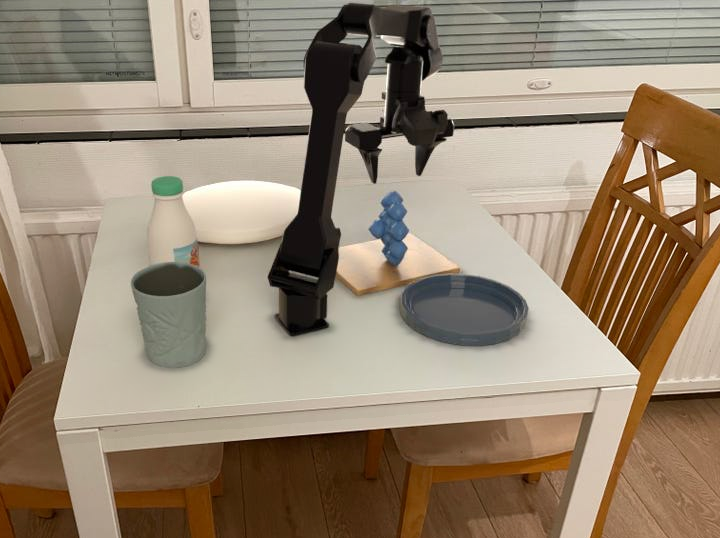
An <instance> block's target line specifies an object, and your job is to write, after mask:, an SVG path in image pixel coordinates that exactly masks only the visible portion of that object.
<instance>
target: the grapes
mask: <svg viewBox="0 0 720 538" xmlns="http://www.w3.org/2000/svg"><path fill="white" fill-rule="evenodd" d="M403 202H404V199H403V197H402V196H401V194H400V193H399V192H397V191H396V190H391V191H390V192H387V193H386V194H385V195H384V196H383V198H382V199H381V201H380V205H381V206H382V208H383V209H382V210H381V211H380V213H379V214H378V218H376V219H374V221H372V223H371V224H370V225H369V228H368V231H369V233H370V234H371V235H372V236H373V237H374V238H375V239H377V240H378V239H380V240H381V241H382V242H383V244H384V245H385V246H384V248H383V249H382V253H383V254H384V255H385V257H386V259H387V260H388V262H389V263H390V264H391V265H393V266H397V265H399V264H400V263H401V261H402V260H403V258H404V255H405V253H406V251H407V250H408V247H407V246H406V245H405V243H404V242H403V241H402V240H403V239H404V238H405V237H406V236H407V234H408V233H410V229H409V228H408V226H407V225H406V223H405V222H404V220H403V219H404V218H405V217H406V215H407V213H408V209H406V207H405V206H404V204H403Z"/></svg>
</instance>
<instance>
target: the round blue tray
mask: <svg viewBox="0 0 720 538" xmlns="http://www.w3.org/2000/svg"><path fill="white" fill-rule="evenodd" d="M399 310H400V315H401V317H402V319H403V320H404V322H405V323H406V324H407V325H408V326H409V327H410V328H411V329H413V330H414V331H416V332H417V333H420V334H422V335H423V336H425V337H427V338H431V339H433V340H436V341H439V342H443V343H447V344H453V345H458V346H475V347H477V346H478V347H479V346H489V345H497V344H500V343H503V342H507V341H509V340H511V339H513V338H515V337H517V336H518V335H520V333H521V332H522V331H523V330H524V329H525V328H526V323H527V320H528V319H527V318H528V314H529V305H528V303H527V300H526V299H525V298H524V297H523V296H522V295H521V292H519V291H517V290H516V289H514V288H513V287H511V286H510V285H507V284H505V283H502V282H501V281H499V280H495V279H492V278H488V277H485V276H480V275H474V274H468V273H455V274H453V273H451V274H450V273H449V274H437V275H432V276H428V277H423V278H421V279H418V280H416V281H414V282H412V283H411V284H407V285H406V286H405V287H404V289H403V291H402V292H401V295H400V305H399Z"/></svg>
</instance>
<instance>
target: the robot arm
mask: <svg viewBox="0 0 720 538" xmlns="http://www.w3.org/2000/svg"><path fill="white" fill-rule="evenodd" d="M432 11H433V10H432V9H431V8H430V7H429V6H428V7H427V6H416V5H403V4H391V5H388V6H385V7H380V6H377V5H375V4H373V3H359V2H349V3H346V4H343V6H342V7H341V9H340V10H339V11H338V13H337V16H336V17H335V18H333V19H332V20H331V21H329V22H328V23H327V24H326V25H324V26H323V27H321V28H320V29H319V30H318V31H317V32H316V33H315V36H313V39H312V40H311V43H310V44H309V46H308V48H307V50H306V52H305V54H304V58H303V71H304V72H303V73H304V74H303V89H304V91H305V94H306V97H307V100H308V101H309V105H310V107H311V113H310V114H311V115H310V120H309V121H310V123H309V128H308V136H307V143H306V151H305V157H304V158H305V159H304V165H303V172H302V179H301V188H300V190H301V194H300V201H299V208H298V213H297V215H296V216H295V217H294V219H293V220H292V221H291V222H290V224H289V225H288V226H287V227H286V228H285V230H284V234H283V235H282V240H281V242H280V243H279V247H278V249H277V252H276V254H275V257H274V259H273V262H272V265H271V267H270V269H269V272H268V275H267V280H268V284H269V287H271V288H278V313H275V314H274V319H275V320H276V321H277V322H278V324H279V325H280V326H281V327H282V328H283V329H284V331H285V332H286V333H287V334H288V335H289V336H290V337H295V336H300V335H303V334H304V335H305V334H308V333H312V332H316V331H317V332H318V331H320V330H324V329H328V328H329V327H330V324H329V322H328V320H326V319H327V317H328V293H329V292H330V291H332V290H333V288H334V286H335V282H336V278H337V277H336V271H337V266H338V261H339V247H340V242H341V238H342V232H341V228H340V227H336V225H335V223H334V221H333V218H332V213H333V207H334V200H335V193H336V187H337V181H338V174H339V166H340V161H341V154H342V148H343V141H344V142H346V143H348V144H349V145H351V147H353V148H355V149H357V150H358V152H359V155H360V156H361V158H362V160H363V163H364V165H365V168H366V171H367V174H368V177H369V179H370V182H371V184H373V185H375V184H377V182H378V175H379V174H378V173H379V156H380V155H381V153H382V151H383V149H382V148H381V147H379V146H380V145H381V144H382V141H383V140H385V139H392V138H397V137H405V139H406V140H407V143H408V144H409V145H410V146H413V147H414V148H415V149H414V167H415V175H416V176H418V177H421V176H422V174H423V172H424V170H425V168H426V166H427V164H428V161H429V159H430V158H431V155H432V154H433V152H434V151H435V149H436V147H437V146H439V145H440V144H442V143H445V142H446V141H447V140H448V139H447V138H452V137H454V133H455V124H454V121H453V119H452V118H450V117H448V116H449V115H448V112H446V110H445V109H437V110H434V111H433V110H429V111H427V110H426V109H427V108H426V100H425V98H426V97H425V96H423V95H421V92H422V91H421V90H422V82H423V81H425V80H426V79H429V78H430V77H432V76H433V75H436V74H437V73H438V72H439V71H440V69H442V66H443V63H444V55H443V52H442V49H441V48H440V42H439V37H438V31H437V26H436V25H437V24H436V20H435V19H436V18H435V16H434V15H432V13H433V12H432ZM347 35H354V36H355V35H356V36H366V37H367V40H366V42H365V43H364V45H363V46H361V44H357V43H356V44H355V43H347V42H346V43H345V42H342V41H343V40H345V39H346V38H347ZM377 36H380V39H381V40H382V41H384V42H386V43H387V44H389V45H390V47H392V49H391V51H390V52H389V53H388V54H387V55H386V56H385V58H384V63H385V64H387V71H386V83H385V84H386V85H385V86H386V87H385V91H381V100H384V101H385V103H384V116H380V117H379V124H382V125H383V126H380V127H376V126H374V125H372V124H370V123H368V122H361V123H353V124H349V125H348V126H347V128H346V123H347V122H346V121H347V115H348V113H349V111H350V110H351V109H352V107H353V106H354V105H355V104H356V103H357V101H358V100H359V98H361V96H362V94H363V90H364V85H365V82H366V80H367V78H368V76H369V74H370V72H371V70H372V69H373V67H374V65H375V62H376V60H377V57H378V56H377V51H376V45H375V39H376V37H377ZM345 128H346V129H345Z"/></svg>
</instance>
